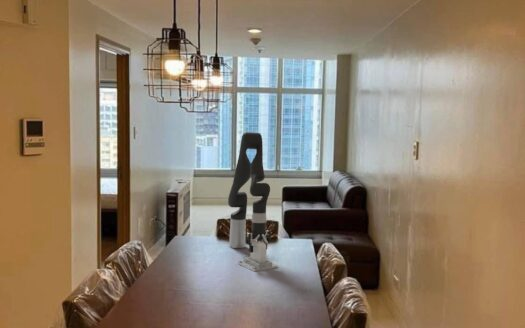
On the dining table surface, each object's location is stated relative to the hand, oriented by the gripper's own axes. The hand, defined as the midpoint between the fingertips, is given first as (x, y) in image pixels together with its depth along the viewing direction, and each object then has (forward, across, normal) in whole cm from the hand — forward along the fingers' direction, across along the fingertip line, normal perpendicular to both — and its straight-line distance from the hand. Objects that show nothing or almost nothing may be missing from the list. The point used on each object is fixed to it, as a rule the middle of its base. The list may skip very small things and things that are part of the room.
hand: (258, 251), depth 261 cm
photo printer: (+7, 0, 0) cm, 7 cm away
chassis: (+8, 0, 0) cm, 8 cm away
